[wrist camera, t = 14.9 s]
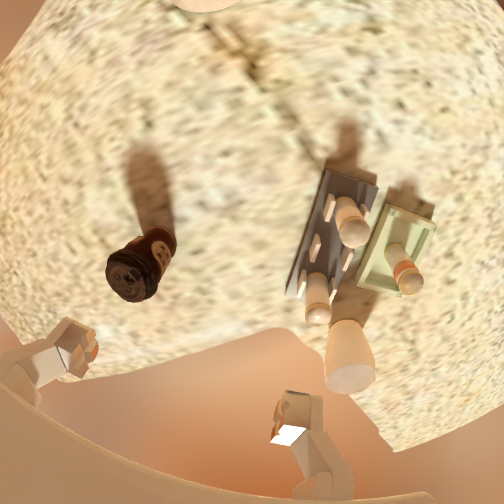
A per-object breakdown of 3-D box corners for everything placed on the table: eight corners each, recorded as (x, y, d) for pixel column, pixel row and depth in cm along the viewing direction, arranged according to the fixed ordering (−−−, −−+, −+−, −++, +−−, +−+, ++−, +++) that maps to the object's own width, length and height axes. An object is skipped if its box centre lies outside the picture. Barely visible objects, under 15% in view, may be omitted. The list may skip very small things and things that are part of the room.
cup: (364, 345, 53) (372, 391, 43) (321, 348, 55) (323, 395, 44) (369, 312, 49) (381, 360, 38) (322, 315, 51) (325, 365, 40)
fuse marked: (389, 239, 41) (407, 270, 33) (407, 245, 41) (427, 276, 33) (380, 259, 43) (395, 292, 35) (398, 264, 43) (415, 297, 35)
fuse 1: (308, 268, 45) (310, 304, 37) (330, 274, 45) (335, 310, 37) (301, 287, 46) (301, 323, 39) (322, 292, 46) (326, 329, 39)
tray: (385, 202, 39) (390, 208, 37) (431, 220, 39) (437, 226, 37) (353, 277, 46) (356, 286, 44) (397, 289, 46) (400, 297, 44)
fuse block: (325, 168, 38) (329, 176, 34) (376, 185, 38) (385, 195, 34) (285, 291, 49) (283, 309, 45) (328, 301, 49) (330, 320, 45)
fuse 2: (335, 192, 38) (346, 215, 30) (359, 200, 38) (375, 224, 30) (327, 216, 40) (335, 243, 32) (351, 223, 40) (363, 251, 32)
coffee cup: (182, 222, 46) (147, 261, 34) (186, 265, 50) (157, 311, 38) (137, 219, 47) (95, 254, 35) (143, 260, 51) (108, 301, 39)
